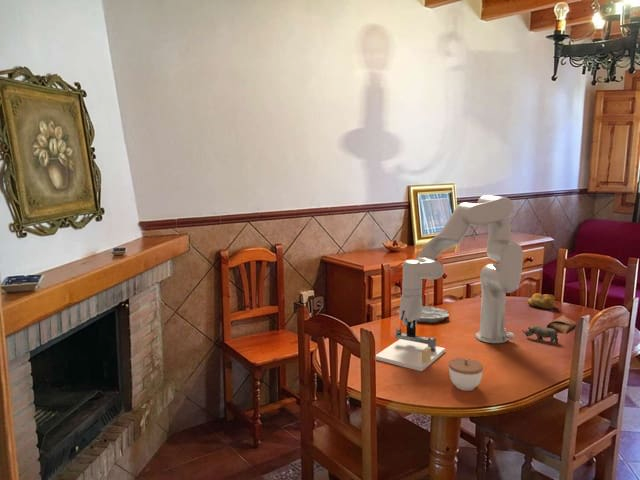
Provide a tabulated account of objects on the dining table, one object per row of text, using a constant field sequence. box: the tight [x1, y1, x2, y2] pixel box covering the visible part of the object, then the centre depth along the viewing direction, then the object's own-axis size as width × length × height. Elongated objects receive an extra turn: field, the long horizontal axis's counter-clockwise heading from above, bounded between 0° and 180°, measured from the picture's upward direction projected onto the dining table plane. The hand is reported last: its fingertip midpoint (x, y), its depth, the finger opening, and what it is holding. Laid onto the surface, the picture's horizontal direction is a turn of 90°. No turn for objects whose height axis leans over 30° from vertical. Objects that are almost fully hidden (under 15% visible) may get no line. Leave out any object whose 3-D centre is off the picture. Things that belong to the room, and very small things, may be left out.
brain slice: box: [417, 305, 450, 324], centre depth 238 cm, size 20×17×3 cm
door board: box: [376, 339, 446, 372], centre depth 192 cm, size 19×22×6 cm
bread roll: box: [527, 292, 556, 310], centre depth 254 cm, size 13×10×8 cm
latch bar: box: [394, 327, 437, 351], centre depth 196 cm, size 16×3×6 cm, turn 61°
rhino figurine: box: [522, 325, 559, 345], centre depth 208 cm, size 4×14×6 cm, turn 55°
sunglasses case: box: [546, 314, 577, 335], centre depth 224 cm, size 18×7×7 cm, turn 137°
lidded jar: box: [448, 357, 484, 392], centre depth 166 cm, size 11×11×9 cm
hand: (411, 336), depth 200 cm, fingers closed
